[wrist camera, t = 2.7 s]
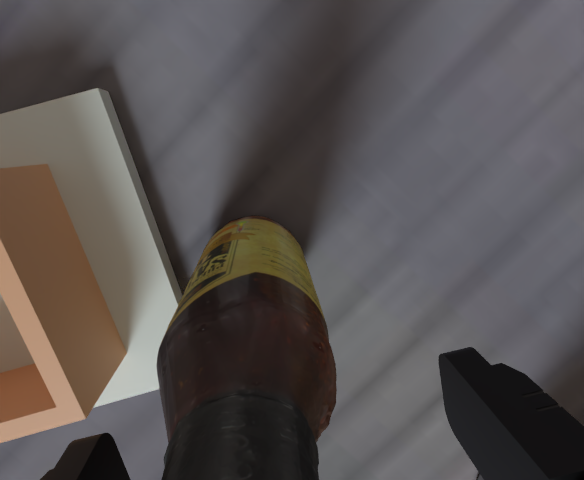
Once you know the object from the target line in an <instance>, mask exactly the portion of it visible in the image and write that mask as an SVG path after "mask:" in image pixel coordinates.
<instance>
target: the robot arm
mask: <svg viewBox="0 0 584 480" xmlns="http://www.w3.org/2000/svg"><path fill="white" fill-rule="evenodd" d="M439 369H440V376H441V384H442V391H443V399H444V406H445V411H446V415H447V418H448V421H449V424H450V426H451V429H452V431H453V433H454V434H455V436H456V438H457V439H458V441H459V442H460V444H461V445H462V447H463V449H464V450H465V452H466V453H467V455H468V456H469V458H470V459H471V461H472V462H473V464H474V465H475V467H476V468H477V470H478V472H479V473H480V475H479V477H478V479H477V480H584V426H582V425H581V424H580V423H579V422H578V421H577V420H576V419H575V418H574V417H572V416H571V415H570V414H569V413H568V412H567V411H566V410H565V409H563V408H562V407H559V406H558V403H557V402H556V401H555V400H553V399H552V398H551V397H550V396H549V395H548V394H547V393H544V392H543V390H542V389H541V388H540V387H539V386H538V385H537V384H536V383H534V382H533V381H532V380H531V379H530V378H529V377H528V376H527V375H525V374H524V373H522V372H520V371H517V370H515V369H513V368H511V367H509V366H507V365H505V364H503V363H500V364H495V365H490V364H489V363H488V362H487V361H486V360H485V359H484V358H483V357H482V356H481V355H480V354H479V353H478V352H477V351H476V350H475V349H474V348H472V347H468V348H464V349H460V350H456V351H451V352H447V353H443V354H440V355H439ZM40 480H130V477H129V475H128V473H127V470H126V468H125V465H124V463H123V460H122V458H121V456H120V453H119V451H118V448H117V446H116V443H115V441H114V439H113V437H112V436H111V435H110V434H109V433H103V434H99V435H95V436H90V437H86V438H82V439H78V440H74V441H72V442H71V443H70V444H69V445H68V447H67V448H66V450H65V452H64V453H63V455H62V456H61V458H60V460H59V461H58V463H57V464H56V466H55V468H54V469H52V470H49V471H48V472H47V473H46V474H45V475H44V476H43V477H42V478H41V479H40Z"/></svg>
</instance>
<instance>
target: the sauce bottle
mask: <svg viewBox="0 0 584 480" xmlns="http://www.w3.org/2000/svg"><path fill="white" fill-rule="evenodd" d="M156 367H157V376H158V382H159V389H160V395H161V401H162V406H163V412H164V418H165V424H166V430H167V436H168V443H169V444H168V447H167V450H166V453H165V456H164V464H165V469H164V473H163V477H162V480H319V477H318V464H319V459H318V449H317V445H316V442H317V441H318V438H319V437H320V436H321V433H322V432H323V431H324V430H325V429H326V428H327V427H328V425H329V421H330V417H331V414H332V412H333V409H334V407H335V404H336V367H335V361H334V356H333V353H332V349H331V346H330V344H329V338H328V330H327V325H326V322H325V319H324V316H323V313H322V309H321V306H320V303H319V300H318V297H317V294H316V291H315V288H314V285H313V282H312V279H311V276H310V273H309V270H308V267H307V264H306V261H305V258H304V254H303V251H302V249H301V247H300V245H299V244H298V242H297V241H296V240H295V238H294V236H293V235H292V234H291V232H290V231H288V230H287V229H285V227H283V226H282V225H280V224H279V223H277V222H275V221H273V220H271V219H269V218H266V217H261V216H249V217H243V218H239V219H237V220H233V221H230V222H229V223H228V224H226V225H225V226H224V227H223V228H222V229H220V230H219V231H218V232H216V233H215V235H214V236H213V237H212V238H211V239H210V241H209V242H208V244H207V245H206V247H205V249H204V251H203V254H202V256H201V258H200V260H199V262H198V264H197V266H196V268H195V270H194V272H193V274H192V277H191V278H190V281H189V282H188V285H187V287H186V289H185V291H184V294H183V296H182V298H181V300H180V302H179V304H178V307H177V309H176V312H175V313H174V315H173V317H172V319H171V321H170V323H169V326H168V328H167V331H166V333H165V335H164V337H163V340H162V342H161V345H160V347H159V351H158V356H157V366H156Z"/></svg>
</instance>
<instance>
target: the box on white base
mask: <svg viewBox="0 0 584 480" xmlns="http://www.w3.org/2000/svg"><path fill="white" fill-rule="evenodd" d="M181 298H182V293H181V290H180V287H179V285H178V282H177V279H176V276H175V274H174V271H173V268H172V265H171V263H170V260H169V257H168V254H167V252H166V249H165V246H164V243H163V241H162V238H161V235H160V232H159V230H158V227H157V224H156V221H155V219H154V216H153V213H152V210H151V208H150V205H149V202H148V199H147V197H146V194H145V191H144V188H143V186H142V183H141V180H140V177H139V175H138V172H137V169H136V166H135V164H134V161H133V158H132V155H131V153H130V150H129V147H128V144H127V142H126V139H125V136H124V133H123V131H122V128H121V125H120V122H119V120H118V117H117V114H116V111H115V108H114V106H113V103H112V100H111V97H110V95H109V92H108V91H106V90H103V89H100V88H95V89H91V90H88V91H84V92H80V93H77V94H73V95H69V96H65V97H62V98H58V99H54V100H51V101H47V102H43V103H39V104H36V105H32V106H28V107H25V108H21V109H17V110H13V111H10V112H6V113H2V114H0V443H2V442H6V441H9V440H13V439H16V438H20V437H23V436H27V435H31V434H34V433H38V432H41V431H45V430H48V429H52V428H55V427H59V426H62V425H66V424H69V423H73V422H76V421H80V420H84V419H86V418H87V416H88V415H89V413H90V411H91V410H92V408H94V407H97V406H101V405H104V404H108V403H111V402H115V401H118V400H122V399H125V398H129V397H133V396H136V395H140V394H143V393H147V392H150V391H154V390H157V389H159V382H158V376H157V367H156V366H157V356H158V351H159V347H160V345H161V342H162V340H163V337H164V335H165V333H166V331H167V328H168V326H169V323H170V321H171V319H172V317H173V315H174V313H175V312H176V309H177V307H178V304H179V302H180V300H181Z"/></svg>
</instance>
